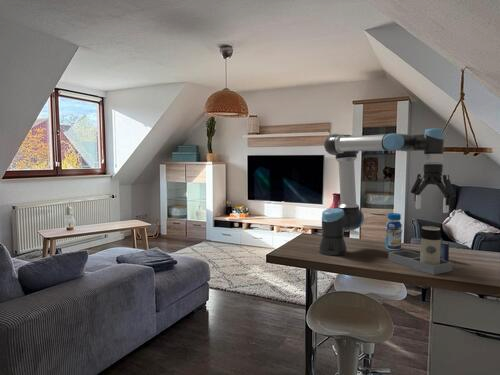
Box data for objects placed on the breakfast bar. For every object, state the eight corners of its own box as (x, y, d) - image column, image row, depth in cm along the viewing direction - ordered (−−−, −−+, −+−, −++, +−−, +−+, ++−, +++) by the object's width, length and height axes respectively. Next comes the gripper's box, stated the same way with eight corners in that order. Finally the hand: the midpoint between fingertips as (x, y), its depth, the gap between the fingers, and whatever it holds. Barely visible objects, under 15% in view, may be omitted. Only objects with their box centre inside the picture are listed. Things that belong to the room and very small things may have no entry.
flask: (429, 257, 169) (430, 236, 168) (433, 256, 170) (434, 236, 170) (446, 262, 161) (447, 240, 160) (450, 261, 162) (451, 240, 161)
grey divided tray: (388, 260, 164) (388, 252, 164) (406, 257, 170) (406, 249, 169) (433, 274, 142) (433, 266, 142) (452, 270, 148) (452, 262, 147)
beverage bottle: (392, 246, 192) (393, 212, 191) (404, 249, 184) (405, 214, 183) (382, 247, 188) (382, 213, 187) (393, 251, 181) (394, 215, 179)
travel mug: (422, 262, 156) (423, 225, 155) (441, 266, 151) (442, 227, 150) (418, 267, 150) (419, 228, 149) (437, 270, 145) (439, 230, 144)
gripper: (403, 163, 157) (402, 207, 159) (455, 163, 134) (453, 215, 136) (414, 163, 160) (413, 206, 162) (466, 163, 138) (464, 213, 139)
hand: (431, 210), depth 149 cm, fingers open, 13 cm apart
